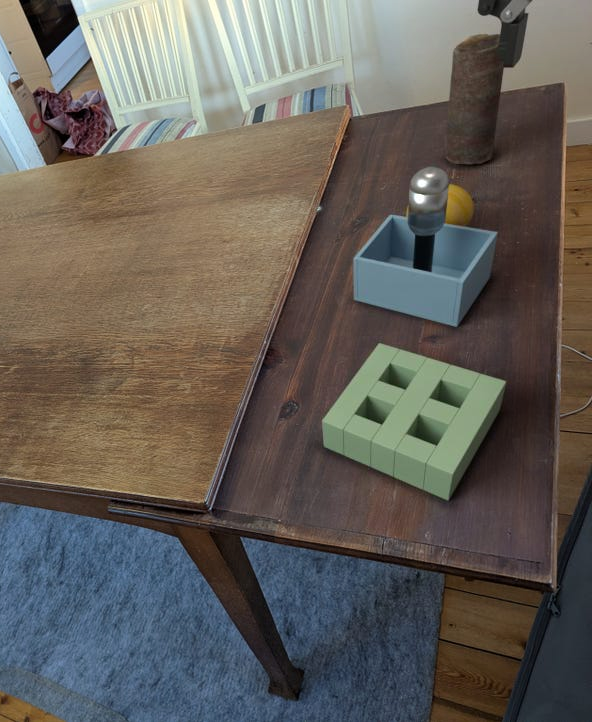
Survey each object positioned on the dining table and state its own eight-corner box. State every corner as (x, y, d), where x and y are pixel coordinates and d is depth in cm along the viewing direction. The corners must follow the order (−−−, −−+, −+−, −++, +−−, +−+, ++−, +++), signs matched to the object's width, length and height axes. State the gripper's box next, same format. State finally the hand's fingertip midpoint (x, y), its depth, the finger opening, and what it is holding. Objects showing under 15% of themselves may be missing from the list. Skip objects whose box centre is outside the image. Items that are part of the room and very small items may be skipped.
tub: (490, 277, 85) (498, 232, 80) (456, 327, 80) (463, 282, 75) (388, 256, 94) (390, 214, 89) (353, 300, 89) (353, 258, 84)
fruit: (397, 245, 95) (400, 200, 89) (415, 216, 98) (418, 172, 93) (460, 254, 90) (466, 207, 84) (476, 223, 93) (483, 176, 88)
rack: (499, 410, 70) (506, 381, 67) (448, 501, 64) (453, 474, 61) (378, 370, 79) (379, 342, 75) (323, 446, 73) (321, 420, 70)
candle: (464, 175, 102) (479, 53, 89) (432, 161, 108) (442, 44, 95) (502, 157, 103) (523, 33, 90) (468, 144, 109) (483, 25, 95)
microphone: (443, 280, 86) (457, 162, 74) (430, 299, 84) (441, 181, 72) (411, 273, 89) (419, 158, 76) (398, 291, 87) (404, 176, 75)
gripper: (792, -238, 36) (694, 44, 47) (522, -181, 45) (492, 45, 56) (767, -205, 33) (668, 88, 44) (483, -150, 42) (458, 82, 53)
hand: (569, 64), depth 50 cm, fingers open, 8 cm apart
